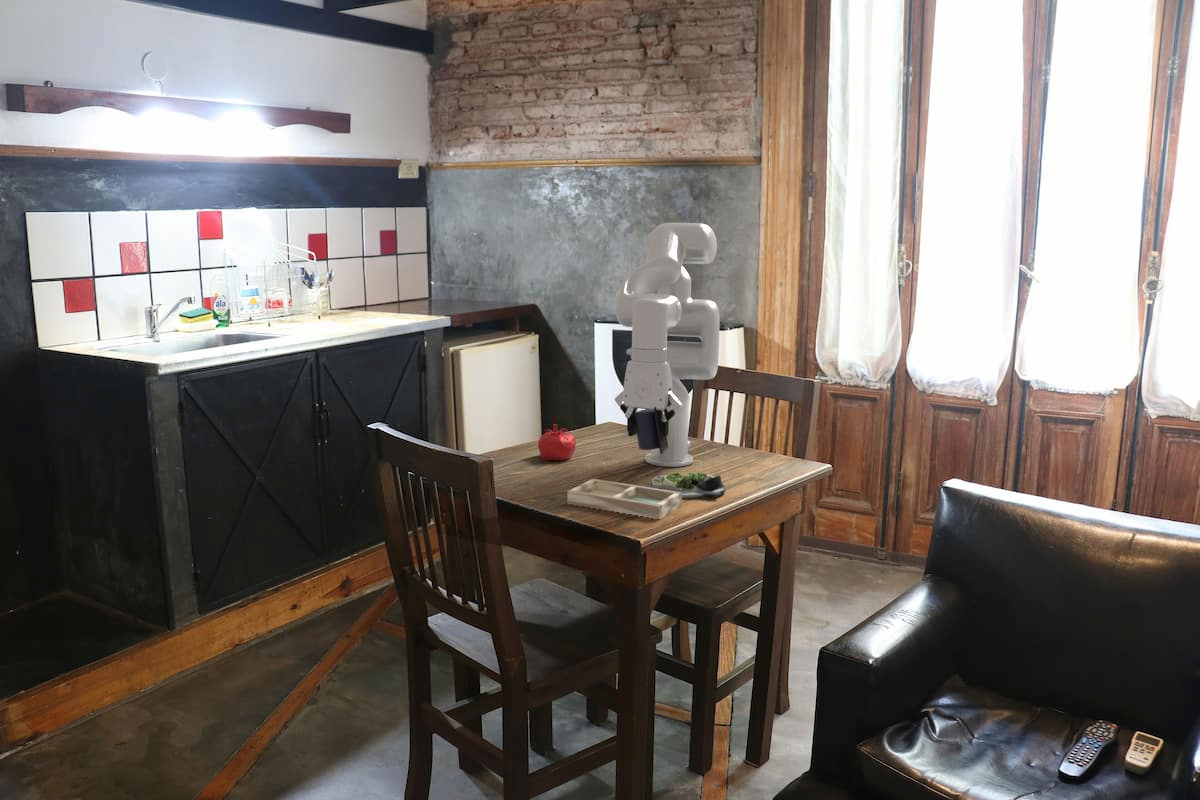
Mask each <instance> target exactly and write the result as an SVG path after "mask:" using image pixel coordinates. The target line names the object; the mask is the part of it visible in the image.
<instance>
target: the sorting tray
mask: <svg viewBox="0 0 1200 800" xmlns="http://www.w3.org/2000/svg"><path fill="white" fill-rule="evenodd" d="M566 493H567V494H566V495H567V496H566V497H567V500H566V501H567V502H566V504H567V505H570V504H573V505H572V506H576V505H579V506H578V507H582V506H585V507H584V508H587V507H590V509H593V508H595V509H594V510H599V509H602V510H601V511H605V510H608V511H607V512H611V511H614V512H613V513H616V512H619V513H618V514H622V513H626V514H625V515H628V514H633V515H632V516H634V515H638V516H637V517H640V516H644V517H643V518H646V517H649V518H648V519H651V518H653V520H657V519H660V520H661V519H663V518H664V517H666V516H668V515H669V514H670V512H671V513H672V512H674V511H675V510H676V508H677V509H678V508H680V507H681V506H683V505H682V503H683V502H682V501H683V498H682V492H675V491H669V490H662V489H656V488H650V487H643V485H642V486H641V485H637V484H636V485H635V484H630V483H624V482H623V483H622V482H618V481H617V482H616V481H611V480H604V479H598V478H591V479H589V480H587V481H585V482H583V483H581V484H579V485H577V486H575V487H573V488H571V489H569V490H567V492H566ZM679 506H680V507H679ZM667 514H668V515H667Z"/></svg>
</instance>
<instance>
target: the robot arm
mask: <svg viewBox="0 0 1200 800" xmlns="http://www.w3.org/2000/svg"><path fill="white" fill-rule="evenodd" d="M646 248H647V254H646V255H647V256H646V260H645V263H643V264H640V265H639V266H638V267H636V268H635V269H634V270H632V271H631V272H630V273H629V274H628V275H626V277H625V278H624V279H623V281H622V283H621V285H620V288H619V292H618V295H617V296H618V297H617V301H616V305H615V306H616V308H615V315H616V320H617V322H618V323H619V324H620V325H621V326H623V327H625V328H631V329H632V330H631V347H629V348H627V349H626V351H625V353H626V355H628V356H630V359H631V360H629V361H627V364H626V369H625V375H624V381H623V390H622V392H620V393H619V394H618V395H617V396H616V397H615V398H614V401H615V402H616V404H617V406H618V407H619V408H620V410H621V411H622V413H624V417H625V418H626V419H627V420H626V430H627V436H628V437H632V436H635V435H637V429H636V422H635V415H634V413H635V412H637V411H638V409H640V410H645V409H649V410H654V407H656V410H658V414H659V416H660V419H661V422H659V427H660V435H661V440H663V439H665V438H667V442H668V449H667V450H666V451H665V452H664V453H663V454H660V448H657V449H652V450H650V451H651V452H650V453H647V454H646V455H645V456H644V460H645V462H646V463H648V464H649V465H652V466H656V467H664V468H665V467H667V468H675V467H676V468H677V467H686V466H689V465H691V464H693V463H694V457H693V456H692V454H689V452H688V449H689V448H690V447H691V446H692V444H691V442H690V440H689V420H690V419H689V416H690V415H689V414H690V413H689V412H690V411H689V410H690V397H689V396H690V395H689V391H688V390H687V389H686V386H684V384H683V383H682V381H680V380H698V381H700V380H702V381H704V380H712V379H714V378H715V376H716V375H717V373H718V369H719V353H720V352H719V350H720V348H719V347H720V326H721V325H720V321H721V320H720V310H719V307H718V304H716V302H714V301H713V300H710V299H699V298H696V299H695V298H692V278H691V276H690V274H689V272H688V271H687V270H686V268H685V267H684V266H683V264H687V265H688V264H690V265H693V264H694V265H695V264H696V265H697V264H698V265H708V264H711V263H713V261H714V259H715V257H716V255H717V250H718V242H717V237H716V234H715V232H714V231H713V229H712V228H711V227H710V226H709V225H707V224H705V223H701V222H664V223H661V224H659V225H657V226H656V227H655V228H654V229H653V231H650V233H648V235H647V238H646ZM654 291H657V293H650V292H654ZM668 336H670V337H671V336H672V337H673V336H674V337H693V338H694V337H695V338H698V339H700V340H701V341H700V342H697V341H680V340H679V341H678V340H677V341H676V340H669V341H668Z"/></svg>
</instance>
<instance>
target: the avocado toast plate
mask: <svg viewBox="0 0 1200 800" xmlns="http://www.w3.org/2000/svg"><path fill="white" fill-rule="evenodd" d="M642 486H643V487H650V488H656V489H662V490H669V491H675V492H682V499H711V498H712V497H713V498H717V496H718V497H720V495H721V496H723V495H724V493H725V492H726V491H727V490H726V489H727V488H726V486H725V485H724V484H723V482H722V477H721V475H717V476H714V475H710V474H706V473H703V472H696V471H695V472H694V471H693V472H692V473H691V472H688V473H685V474H680V473H678V472H677V473H676V472H675V473H673V472H670V473H668V474H667V475H666V474H663V475H659V476H658V475H657V476H656V477H654V478H652V479H651V484H650V483H645V484H643V485H642ZM722 494H723V495H722ZM713 498H712V499H713Z"/></svg>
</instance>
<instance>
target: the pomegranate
mask: <svg viewBox="0 0 1200 800" xmlns="http://www.w3.org/2000/svg"><path fill="white" fill-rule="evenodd" d="M552 426H553V431H552V429H543V430H544V431H545V433H543V434H542V435H541V436H540V437H539V440H538V442H537V447H538V451H539V455H540V457H541V458H542V459H543V460H546V461H550V460H553V462H555V461H557V462H558V461H559V460H560V461H567V460H569V459H570V458H571V457H573V455H574V454H575V452H576V445H577V440H576V438H575V437H574V436H573V435H572V434H570V433H571V432H570V431H568V430H564V428H561V429H560V430H558V424H556V423H553V424H552ZM560 461H559V462H560Z"/></svg>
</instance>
